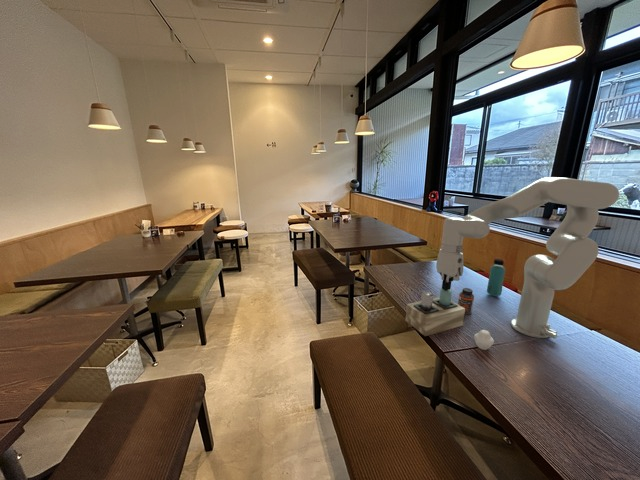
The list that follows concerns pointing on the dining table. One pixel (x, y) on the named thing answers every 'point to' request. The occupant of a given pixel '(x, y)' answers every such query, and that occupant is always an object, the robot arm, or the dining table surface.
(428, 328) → the socket block
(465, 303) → the supplement bottle
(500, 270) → the beverage bottle
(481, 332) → the white rounded ridged piece
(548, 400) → the dining table surface
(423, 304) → the steel peg
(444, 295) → the teal peg
